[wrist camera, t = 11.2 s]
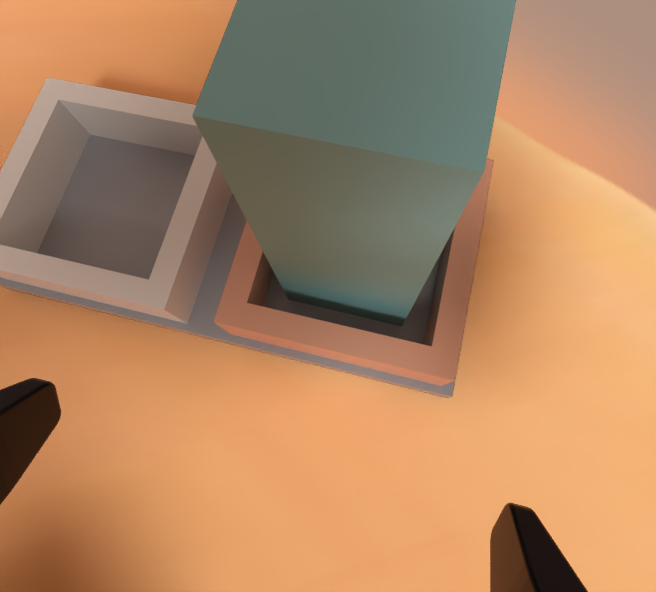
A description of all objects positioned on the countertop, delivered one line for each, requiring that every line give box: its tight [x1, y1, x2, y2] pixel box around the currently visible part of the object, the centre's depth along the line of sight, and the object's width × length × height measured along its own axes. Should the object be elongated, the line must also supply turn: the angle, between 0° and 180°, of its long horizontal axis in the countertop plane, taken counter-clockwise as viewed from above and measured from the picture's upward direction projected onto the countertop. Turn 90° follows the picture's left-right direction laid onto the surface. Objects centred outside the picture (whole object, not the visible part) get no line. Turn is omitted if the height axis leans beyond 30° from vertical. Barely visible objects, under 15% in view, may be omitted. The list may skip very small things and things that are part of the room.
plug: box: [192, 0, 516, 326], centre depth 14 cm, size 5×5×12 cm
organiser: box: [0, 78, 494, 398], centre depth 19 cm, size 10×21×4 cm, turn 76°
